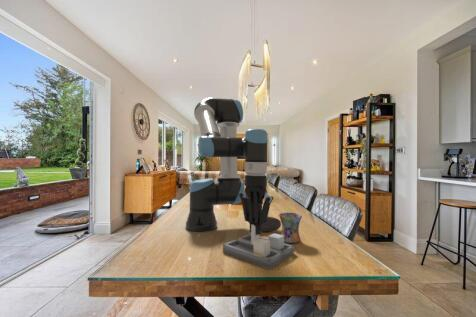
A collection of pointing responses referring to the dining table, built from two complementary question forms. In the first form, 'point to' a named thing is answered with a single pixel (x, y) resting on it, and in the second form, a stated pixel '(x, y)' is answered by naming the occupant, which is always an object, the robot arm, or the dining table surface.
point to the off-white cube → (261, 247)
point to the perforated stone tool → (271, 224)
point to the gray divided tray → (245, 251)
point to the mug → (290, 227)
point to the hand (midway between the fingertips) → (255, 243)
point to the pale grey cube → (276, 241)
